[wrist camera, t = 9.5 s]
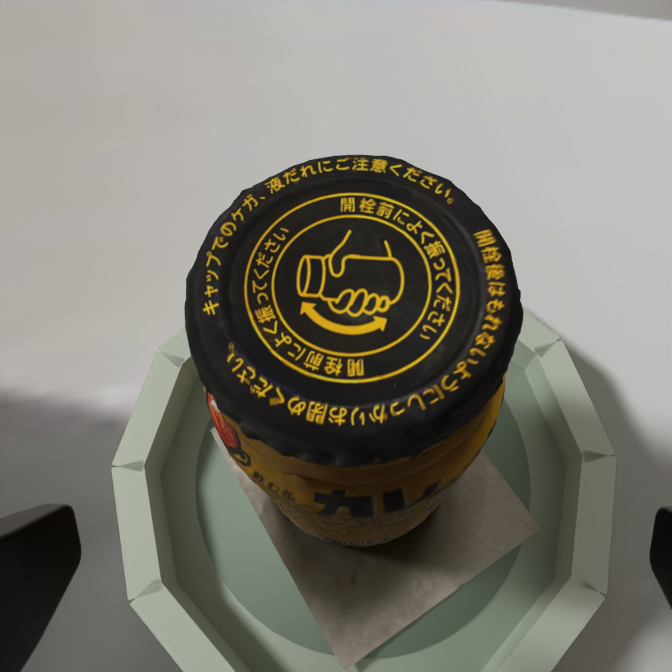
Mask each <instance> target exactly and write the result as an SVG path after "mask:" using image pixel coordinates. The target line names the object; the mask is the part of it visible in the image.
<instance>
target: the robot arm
mask: <svg viewBox="0 0 672 672" xmlns="http://www.w3.org/2000/svg"><path fill="white" fill-rule="evenodd" d="M80 559H81V543H80V538H79V533H78V528H77V523H76V518H75V513H74V510H73V508H72V507H71V506H70V505H68V504H44V505H40V506H37V507H34V508H31V509H28V510H24V511H21V512H18V513H15V514H12V515H9V516H6V517H3V518H0V672H20V671H21V670H22V668H23V667H24V665H25V664H26V662H27V661H28V659H29V658H30V656H31V654H32V653H33V651H34V650H35V648H36V646H37V645H38V643H39V641H40V639H41V638H42V636H43V634H44V632H45V630H46V629H47V627H48V625H49V623H50V621H51V619H52V617H53V615H54V613H55V611H56V609H57V607H58V605H59V603H60V601H61V599H62V597H63V595H64V593H65V591H66V589H67V588H68V586H69V584H70V582H71V580H72V578H73V576H74V574H75V572H76V570H77V568H78V566H79V563H80ZM650 563H651V567H652V570H653V573H654V575H655V577H656V579H657V581H658V583H659V585H660V587H661V589H662V591H663V593H664V595H665V597H666V599H667V601H668V603H669V605H670V607H671V609H672V506H664V507H661V508H660V509H659V510H658V511H657V514H656V517H655V523H654V529H653V535H652V541H651V547H650Z"/></svg>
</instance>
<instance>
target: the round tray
mask: <svg viewBox="0 0 672 672" xmlns="http://www.w3.org/2000/svg"><path fill="white" fill-rule="evenodd" d="M523 311H524V312H523V324H522V327H521V333H520V334H519V336H518V339H517V342H516V344H515V348H514V354H513V356H512V358H511V360H510V363H509V366H508V370H507V372H506V378H505V393H504V399H503V402H502V405H501V407H500V411H499V414H498V417H497V421H496V424H495V427H494V429H493V432H492V433H491V435H490V437H489V438H488V439H487V441H486V443H485V445H484V446H483V448H482V450H483V451H484V453H485V454H486V456H487V457H488V458H489V460H490V461H491V463H492V464H493V465H494V466H495V468H496V469H497V470H498V471H499V472H500V474H501V475H502V476H503V478H504V479H505V481H506V482H507V484H508V485H509V487H510V488H511V489H512V491H513V492H514V493H515V494H516V496H517V497H518V498H519V499H520V501H521V502H522V503H523V505H524V506H525V507H526V509H527V510H528V512H529V513H530V515H531V516H532V517H533V519H534V520H535V521H536V523H537V524H538V525H539V527H540V528H541V529H540V530H539V531H537V532H536V533H535V534H533V535H532V536H531V537H529V538H528V539H526V540H525V541H524V542H522V543H521V544H519V545H518V546H517V547H515V548H514V549H512V550H511V551H509V552H508V553H507V554H505V555H504V556H503V557H501V558H500V559H498V560H497V561H496V562H494V563H493V564H492V565H490V566H489V567H487V568H486V569H485V570H483V571H481V572H480V573H479V574H478V575H476V576H475V577H473V578H472V579H471V580H469V581H468V582H466V583H465V584H463V585H462V586H460V587H459V588H458V589H457V590H455V591H454V592H453V593H451V594H450V595H448V596H447V597H446V598H444V599H443V600H441V601H440V602H439V603H437V604H436V605H434V606H433V607H432V608H430V609H429V610H427V611H426V612H425V613H423V614H422V615H421V616H419V617H418V618H417V619H415V620H414V621H412V622H411V623H409V624H408V625H407V626H406V627H404V628H403V629H401V630H400V631H399V632H397V633H396V634H394V635H393V636H392V637H390V638H389V639H388V640H386V641H385V642H383V643H382V644H381V645H379V646H378V647H376V648H375V649H374V650H372V651H371V652H370V653H368V654H367V655H366V656H364V657H363V658H362V659H361V660H359V661H358V662H356V663H355V664H353V665H352V666H351V667H349V668H348V669H347V670H345V671H344V670H343V669H342V667H341V665H340V663H339V662H338V660H337V658H336V656H335V654H334V653H333V651H332V649H331V647H330V646H329V644H328V642H327V640H326V638H325V636H324V634H323V633H322V631H321V629H320V627H319V625H318V624H317V622H316V620H315V618H314V616H313V614H312V613H311V611H310V609H309V608H308V606H307V604H306V602H305V600H304V598H303V596H302V595H301V593H300V592H299V590H298V588H297V586H296V584H295V582H294V580H293V579H292V577H291V575H290V573H289V571H288V569H287V568H286V566H285V565H284V563H283V561H282V559H281V557H280V555H279V553H278V552H277V550H276V548H275V546H274V545H273V543H272V541H271V539H270V537H269V535H268V533H267V532H266V530H265V528H264V526H263V524H262V522H261V521H260V519H259V517H258V515H257V513H256V512H255V510H254V508H253V506H252V504H251V503H250V501H249V499H248V497H247V495H246V494H245V492H244V490H243V489H242V487H241V485H240V483H239V481H238V479H237V478H236V476H235V474H234V472H233V470H232V469H231V467H230V465H229V463H228V462H227V460H226V458H225V456H224V454H223V453H222V451H221V449H220V447H219V446H218V444H217V442H216V440H215V438H214V437H213V435H212V433H211V431H210V429H212V428H214V423H213V420H212V417H211V414H210V412H209V410H208V407H207V404H206V399H205V392H204V389H203V386H204V385H203V384H202V382H201V380H200V379H199V374H198V371H197V369H196V366H195V363H194V360H193V358H192V356H191V354H190V349H189V344H188V339H187V333H186V329H185V326H184V327H183V328H182V329H181V330H180V331H179V332H177V333H176V334H175V335H174V336H173V337H172V338H171V339H169V340H168V341H167V342H166V343H165V344H164V345H163V346H161V347H160V348H159V350H160V351H161V352H162V353H161V352H156V355H155V357H154V360H153V362H152V365H151V367H150V370H149V372H148V375H147V377H146V380H145V382H144V385H143V388H142V390H141V393H140V395H139V398H138V400H137V403H136V405H135V408H134V410H133V413H132V415H131V418H130V420H129V423H128V425H127V428H126V430H125V433H124V435H123V438H122V440H121V443H120V446H119V448H118V451H117V453H116V456H115V458H114V461H113V463H112V465H114V466H116V467H114V468H111V469H112V477H113V485H114V492H115V500H116V508H117V516H118V524H119V532H120V540H121V548H122V555H123V563H124V571H125V579H126V587H127V595H128V600H133V601H132V602H131V603H130V605H131V606H132V608H133V609H134V610H135V611H136V613H137V614H138V615H139V616H140V618H141V619H142V620H143V621H144V623H145V624H146V625H147V626H148V628H149V629H150V630H151V631H152V633H153V634H154V635H155V636H156V638H157V639H158V640H159V642H160V643H161V644H162V645H163V647H164V648H165V649H166V650H167V652H168V653H169V654H170V655H171V657H172V658H173V659H174V660H175V662H176V663H177V664H178V665H179V667H180V668H181V669H182V670H183V672H551V671H552V669H553V668H554V667H555V665H556V664H557V663H558V661H559V660H560V659H561V657H562V656H563V655H564V653H565V652H566V651H567V649H568V648H569V647H570V645H571V644H572V643H573V641H574V640H575V639H576V637H577V636H578V635H579V633H580V632H581V631H582V629H583V628H584V627H585V625H586V624H587V622H588V621H589V620H590V618H591V617H592V616H593V614H594V613H595V612H596V610H597V609H598V608H599V606H600V605H601V604H602V602H603V601H604V600H605V597H604V596H603V595H602V594H607V590H608V577H609V563H610V549H611V535H612V521H613V508H614V494H615V480H616V466H617V457H613V455H615V454H616V452H615V450H614V448H613V445H612V443H611V441H610V439H609V437H608V435H607V433H606V431H605V429H604V426H603V424H602V422H601V420H600V418H599V416H598V414H597V412H596V410H595V408H594V405H593V403H592V401H591V399H590V397H589V395H588V393H587V391H586V389H585V387H584V384H583V382H582V380H581V378H580V376H579V374H578V372H577V370H576V368H575V366H574V363H573V361H572V359H571V357H570V355H569V353H568V351H567V349H566V347H565V344H564V342H563V340H560V341H557V340H558V339H559V338H560V337H559V336H558V335H557V334H555V333H554V332H553V331H551V330H550V329H549V328H547V327H546V326H545V325H543V324H542V323H541V322H539V321H538V320H537V319H535V318H534V317H533V316H531V315H530V314H529V313H528V312H526V311H525V310H524V309H523Z"/></svg>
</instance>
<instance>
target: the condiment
mask: <svg viewBox="0 0 672 672" xmlns="http://www.w3.org/2000/svg"><path fill="white" fill-rule="evenodd" d="M520 297H521V291H520V290H519V289H518V284H517V279H516V275H515V271H514V267H513V263H512V256H511V252H510V249H509V248H508V246H507V244H506V242H505V240H504V239H503V237H502V236H501V234H500V233H499V231H498V229H497V228H496V227H495V225H494V224H493V223H492V222H491V221H490V220H489V219H488V217H487V216H486V215H485V214H484V212H483V211H482V209H481V208H480V207H479V206H478V205H477V204H475V203H474V202H473V201H472V200H471V199H470V198H469V197H468V196H467V195H466V194H465V193H464V192H463V191H462V190H460V189H459V188H457V187H456V186H455V185H454V184H453V183H452V182H451V181H450V180H448V179H445V178H443V177H441V176H438V175H435V174H432V173H429V172H427V171H424V170H422V169H420V168H417V167H415V166H413V165H411V164H409V163H408V162H406V161H404V160H401V159H397V158H393V157H389V156H372V155H342V156H331V157H325V158H319V159H313V160H309V161H306V162H304V163H301V164H298V165H294V166H292V167H290V168H288V169H286V170H284V171H282V172H280V173H278V174H276V175H274V176H272V177H269V178H268V179H266V180H264V181H262V182H260V183H258V184H256V185H254V186H253V187H252V188H248V189H245V190H243V191H242V192H241V193H240V195H239V196H238V197H237V198H236V199H235V200H234V202H233V203H232V205H231V206H230V207H229V208H228V209H227V210H225V211H224V212H223V213H222V214H221V215H220V216H219V217H218V219H217V220H216V221H215V222H214V224H213V225H212V227H211V228H210V230H209V232H208V234H207V236H206V238H205V240H204V242H203V244H202V246H201V248H200V250H199V251H198V255H197V258H196V261H195V263H194V265H193V267H192V269H191V270H190V272H189V273H188V276H187V279H186V301H185V329H186V333H187V339H188V344H189V349H190V354H191V356H192V358H193V360H194V363H195V366H196V369H197V371H198V374H199V379H200V380H201V382H202V384H203V385H204V386H203V389H204V392H205V399H206V404H207V407H208V410H209V412H210V414H211V417H212V420H213V423H214V428H212V429H210V431H211V433H212V435H213V437H214V438H215V440H216V442H217V444H218V446H219V447H220V449H221V451H222V453H223V454H224V456H225V458H226V460H227V462H228V463H229V465H230V467H231V469H232V470H233V472H234V474H235V476H236V478H237V479H238V481H239V483H240V485H241V487H242V489H243V490H244V492H245V494H246V495H247V497H248V499H249V501H250V503H251V504H252V506H253V508H254V510H255V512H256V513H257V515H258V517H259V519H260V521H261V522H262V524H263V526H264V528H265V530H266V532H267V533H268V535H269V537H270V539H271V541H272V543H273V545H274V546H275V548H276V550H277V552H278V553H279V555H280V557H281V559H282V561H283V563H284V565H285V566H286V568H287V569H288V571H289V573H290V575H291V577H292V579H293V580H294V582H295V584H296V586H297V588H298V590H299V592H300V593H301V595H302V596H303V598H304V600H305V602H306V604H307V606H308V608H309V609H310V611H311V613H312V614H313V616H314V618H315V620H316V622H317V624H318V625H319V627H320V629H321V631H322V633H323V634H324V636H325V638H326V640H327V642H328V644H329V646H330V647H331V649H332V651H333V653H334V654H335V656H336V658H337V660H338V662H339V663H340V665H341V667H342V669H343V670H344V671H345V670H347V669H348V668H349V667H351V666H352V665H353V664H355V663H356V662H358V661H359V660H361V659H362V658H363V657H364V656H366V655H367V654H368V653H370V652H371V651H372V650H374V649H375V648H376V647H378V646H379V645H381V644H382V643H383V642H385V641H386V640H388V639H389V638H390V637H392V636H393V635H394V634H396V633H397V632H399V631H400V630H401V629H403V628H404V627H406V626H407V625H408V624H409V623H411V622H412V621H414V620H415V619H417V618H418V617H419V616H421V615H422V614H423V613H425V612H426V611H427V610H429V609H430V608H432V607H433V606H434V605H436V604H437V603H439V602H440V601H441V600H443V599H444V598H446V597H447V596H448V595H450V594H451V593H453V592H454V591H455V590H457V589H458V588H459V587H460V586H462V585H463V584H465V583H466V582H468V581H469V580H471V579H472V578H473V577H475V576H476V575H478V574H479V573H480V572H481V571H483V570H485V569H486V568H487V567H489V566H490V565H492V564H493V563H494V562H496V561H497V560H498V559H500V558H501V557H503V556H504V555H505V554H507V553H508V552H509V551H511V550H512V549H514V548H515V547H517V546H518V545H519V544H521V543H522V542H524V541H525V540H526V539H528V538H529V537H531V536H532V535H533V534H535V533H536V532H537V531H539V530H540V529H541V528H540V527H539V525H538V524H537V523H536V521H535V520H534V519H533V517H532V516H531V515H530V513H529V512H528V510H527V509H526V507H525V506H524V505H523V503H522V502H521V501H520V499H519V498H518V497H517V496H516V494H515V493H514V492H513V491H512V489H511V488H510V487H509V485H508V484H507V482H506V481H505V479H504V478H503V476H502V475H501V474H500V472H499V471H498V470H497V469H496V468H495V466H494V465H493V464H492V463H491V461H490V460H489V458H488V457H487V456H486V454H485V453H484V451H483V450H482V448H483V446H484V445H485V443H486V441H487V439H488V438H489V437H490V435H491V433H492V432H493V429H494V427H495V424H496V421H497V417H498V414H499V411H500V407H501V405H502V402H503V399H504V393H505V378H506V372H507V370H508V366H509V363H510V360H511V358H512V356H513V354H514V348H515V344H516V342H517V339H518V336H519V334H520V333H521V327H522V324H523V312H524V311H523V308H522V305H521V302H520Z"/></svg>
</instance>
